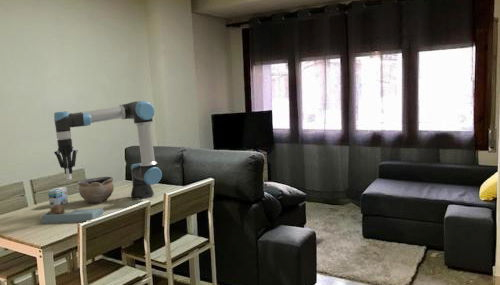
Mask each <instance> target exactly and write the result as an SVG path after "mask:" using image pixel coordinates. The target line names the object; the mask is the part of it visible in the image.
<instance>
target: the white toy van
mask: <svg viewBox="0 0 500 285" xmlns="http://www.w3.org/2000/svg"><path fill="white" fill-rule="evenodd" d="M47 194H48V202H49V203H48V204H49V207H50V208H51V207H52V206H54V205H63V206H65V205H66V203H67V204H68V203H69V198H68V197H69V196H68V188H67V186H66V187H64V186H63V187H61V186H60V187H56V188H52V189H49V190H47Z"/></svg>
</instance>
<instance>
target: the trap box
mask: <svg viewBox="0 0 500 285" xmlns="http://www.w3.org/2000/svg"><path fill="white" fill-rule="evenodd" d="M103 215H104V208H88V209H87V208H86V209H83V208H82V209H74V210H72V211H71V212H66V210H65V209H64V214H57V215H51V210H49V211H47V212H45V213H44V214H42V215H41V223H42V224H56V223H58V224H60V223H79V222H80V223H81V222H82V223H84V222H83V221H87V220H91V219H94V218H97V217H98V218H99V217H101V216H103ZM98 218H97V219H98Z"/></svg>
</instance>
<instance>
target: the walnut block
mask: <svg viewBox="0 0 500 285" xmlns="http://www.w3.org/2000/svg"><path fill="white" fill-rule="evenodd" d="M49 209H50V210H49V211H51V215H57V214H64V210H65V209H64V205H54V206H52V207H50V208H49Z"/></svg>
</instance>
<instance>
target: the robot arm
mask: <svg viewBox="0 0 500 285" xmlns="http://www.w3.org/2000/svg"><path fill="white" fill-rule="evenodd" d="M53 114H54V115H53V117H54V118H53V119H54V126H55V133H56V134H55V135H56V139H57V142H56V143H57V147H58V148H57V150H56V151H54V152H53V153H54V155H55V156H56V159H57V161H58V164H59V167H60V168H62V169H64V174H65V175H66V179H67V181H69V180H72V179H73V177H72V174H73V168H74V167H75V166H76V160H77V154H78V149H75V148H74V146H73V139H72V133H71V128H78V127H79V128H80V127H88V126H91V124H92V123H93V124H94V123H99V122H107V121H111V120H118V119H119V120H120V119H121V120H133V124H134V125H136V127H137V128H136V129H137V135H138V144H139V152H140V153H139V154H140V161H141V162H138V163H133V164H131V166H130V174H131V180H132V181H131V182H132V187H131V192H130V199H132V200H143V199H144V200H145V199H148V198H147V197H149V198H151V197H150V196H152V195H154V196H155V193H154V189H153V187H152V186H153V185H156V184H158V183H159V182H160V181H161V179H162V176H163V173H162V170H161V169H160V168H159V164H158V162H157V161H156V158H155V150H154V143H153V134H152V124H153V118H154V115H155V107H154V106H153V104H152V103H151V102H148V101H145V100H139V101H132V102H128V103H125V104H119V106H114V107H107V108H102V109H94V110H87V111H80V112H73V113H69V112H68V111H56V112H54V113H53ZM152 197H153V196H152Z"/></svg>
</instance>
